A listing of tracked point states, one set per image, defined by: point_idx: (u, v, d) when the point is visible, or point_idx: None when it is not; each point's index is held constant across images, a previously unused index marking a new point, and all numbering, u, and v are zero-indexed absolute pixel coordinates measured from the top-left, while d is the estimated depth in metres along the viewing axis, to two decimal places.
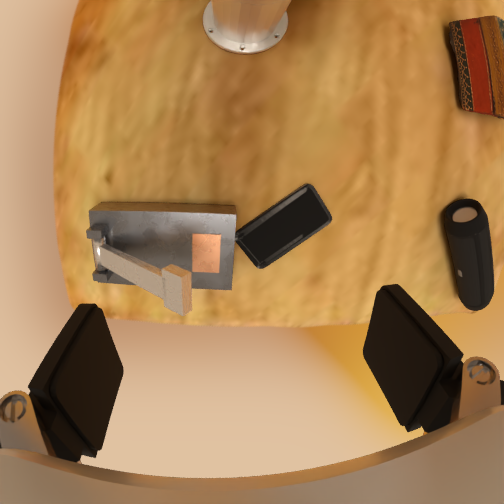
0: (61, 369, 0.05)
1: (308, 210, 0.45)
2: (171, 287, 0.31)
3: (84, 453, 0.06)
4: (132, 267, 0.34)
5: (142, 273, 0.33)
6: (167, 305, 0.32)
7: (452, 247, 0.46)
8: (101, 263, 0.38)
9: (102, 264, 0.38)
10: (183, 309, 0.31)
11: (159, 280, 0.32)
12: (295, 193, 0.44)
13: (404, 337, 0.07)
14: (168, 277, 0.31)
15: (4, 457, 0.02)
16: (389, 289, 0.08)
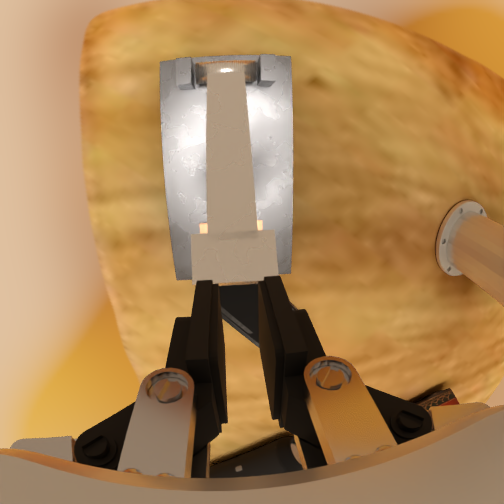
0: (213, 338, 0.07)
1: None
2: (245, 254, 0.17)
3: None
4: (241, 151, 0.18)
5: (240, 177, 0.18)
6: (196, 242, 0.17)
7: (262, 455, 0.47)
8: (210, 73, 0.20)
9: (209, 76, 0.20)
10: None
11: (246, 223, 0.17)
12: None
13: (265, 327, 0.08)
14: (264, 247, 0.17)
15: (4, 457, 0.02)
16: (266, 280, 0.09)
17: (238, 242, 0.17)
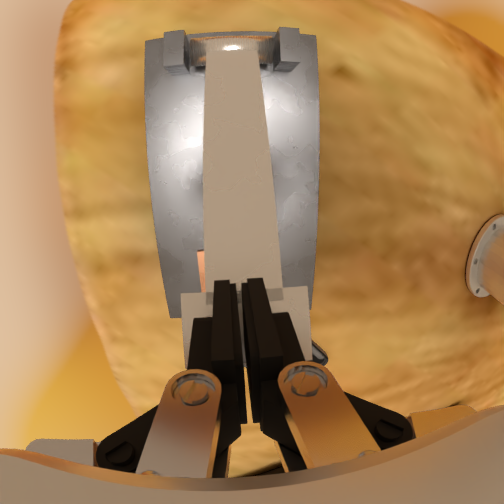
0: (236, 338, 0.07)
1: None
2: None
3: None
4: (255, 161, 0.12)
5: (255, 202, 0.12)
6: (189, 306, 0.11)
7: None
8: (210, 51, 0.14)
9: (209, 55, 0.14)
10: None
11: (265, 276, 0.11)
12: (317, 349, 0.32)
13: (245, 330, 0.08)
14: (292, 313, 0.11)
15: (4, 457, 0.02)
16: (248, 282, 0.09)
17: None
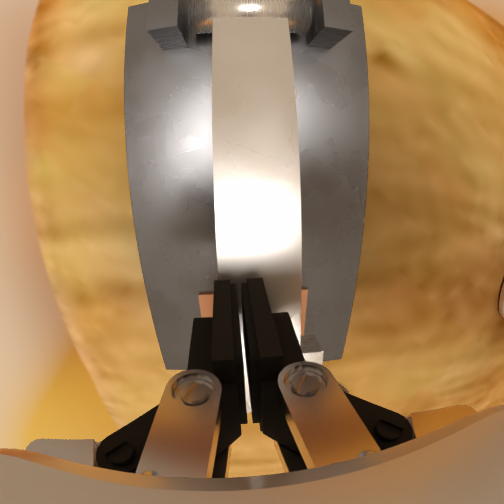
0: (236, 338, 0.07)
1: None
2: None
3: None
4: (282, 213, 0.10)
5: (279, 269, 0.10)
6: None
7: None
8: (219, 18, 0.08)
9: (217, 25, 0.09)
10: None
11: None
12: None
13: None
14: None
15: (4, 457, 0.02)
16: (248, 282, 0.09)
17: None
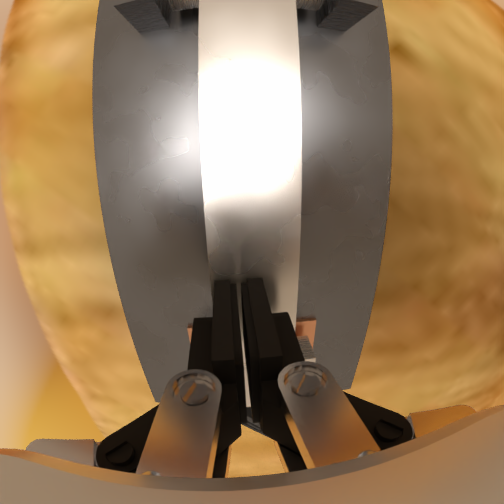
0: (236, 338, 0.07)
1: None
2: None
3: None
4: (279, 234, 0.09)
5: (274, 288, 0.10)
6: None
7: None
8: None
9: (205, 2, 0.06)
10: None
11: None
12: None
13: (245, 330, 0.08)
14: None
15: (4, 457, 0.02)
16: (248, 282, 0.09)
17: None
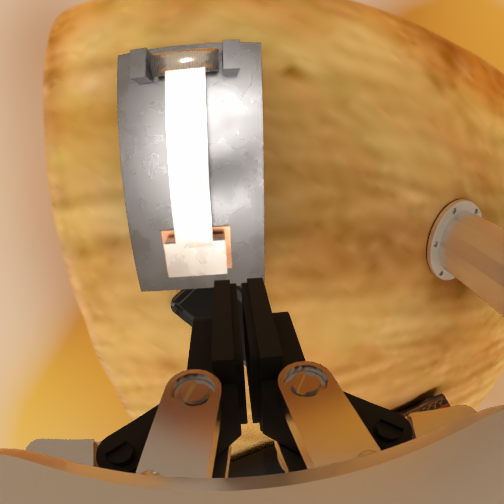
0: (236, 338, 0.07)
1: None
2: (204, 258, 0.23)
3: None
4: (199, 172, 0.21)
5: (199, 198, 0.22)
6: (168, 250, 0.23)
7: (248, 465, 0.45)
8: (168, 71, 0.17)
9: (167, 76, 0.18)
10: None
11: (204, 235, 0.23)
12: None
13: (245, 330, 0.08)
14: (217, 252, 0.23)
15: (4, 457, 0.02)
16: (248, 282, 0.09)
17: (198, 249, 0.23)
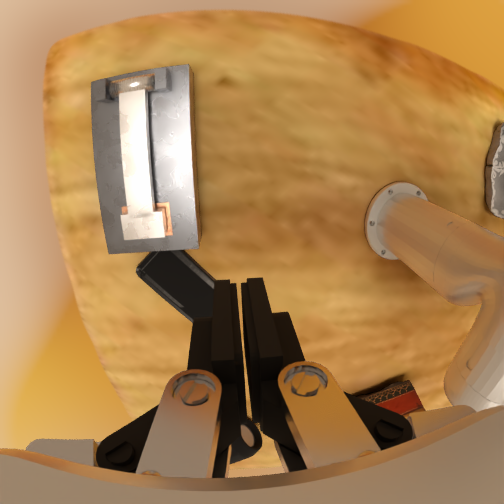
0: (236, 339, 0.07)
1: (209, 307, 0.43)
2: (147, 225, 0.31)
3: None
4: (142, 163, 0.28)
5: (142, 181, 0.29)
6: (123, 219, 0.30)
7: None
8: (121, 93, 0.25)
9: (120, 97, 0.25)
10: (131, 239, 0.31)
11: (147, 208, 0.30)
12: None
13: (245, 330, 0.08)
14: (156, 220, 0.31)
15: (4, 457, 0.02)
16: (248, 282, 0.09)
17: (143, 218, 0.30)
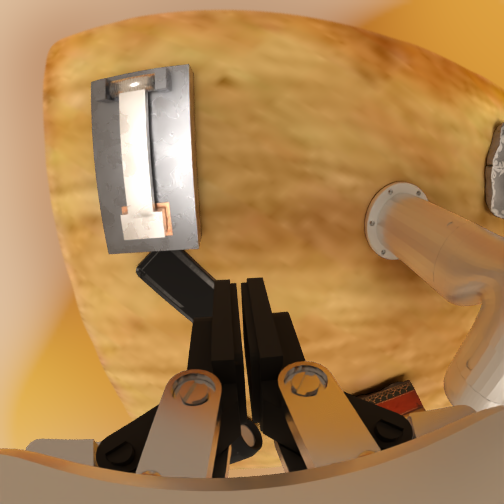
0: (236, 339, 0.07)
1: (209, 307, 0.43)
2: (147, 225, 0.31)
3: None
4: (142, 163, 0.28)
5: (142, 181, 0.29)
6: (123, 219, 0.30)
7: None
8: (121, 93, 0.25)
9: (120, 97, 0.25)
10: (131, 239, 0.31)
11: (147, 208, 0.30)
12: None
13: (245, 330, 0.08)
14: (156, 220, 0.31)
15: (4, 457, 0.02)
16: (248, 282, 0.09)
17: (143, 218, 0.30)
